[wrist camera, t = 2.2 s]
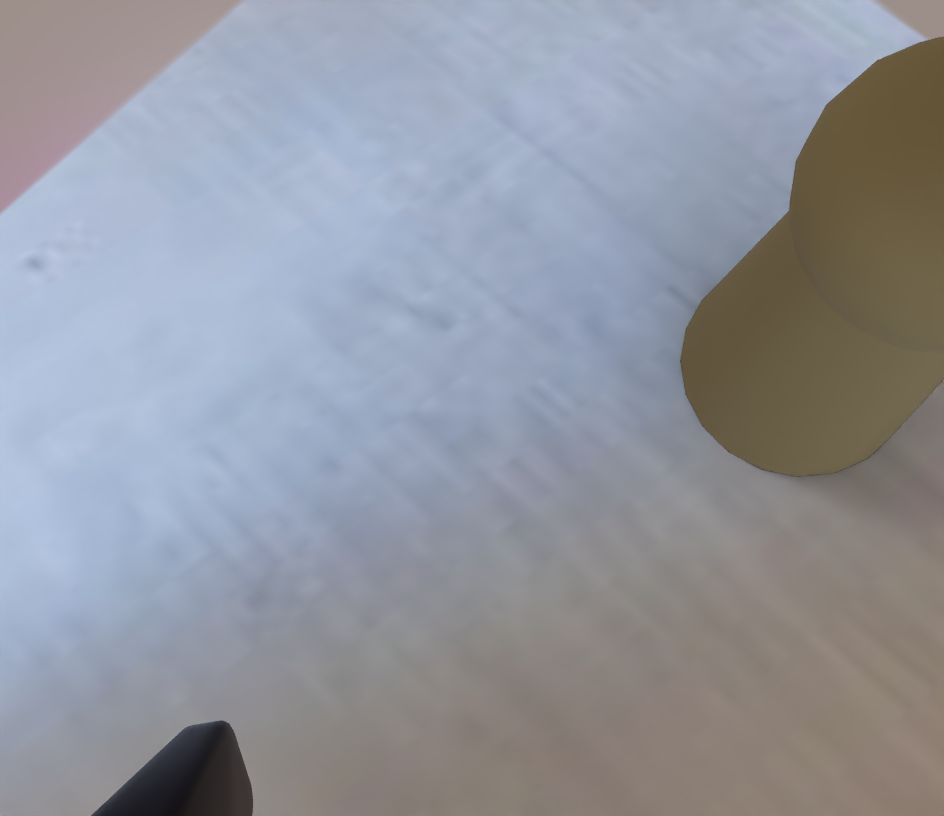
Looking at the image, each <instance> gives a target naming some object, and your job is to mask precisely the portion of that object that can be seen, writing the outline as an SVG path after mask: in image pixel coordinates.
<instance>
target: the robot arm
mask: <svg viewBox="0 0 944 816" xmlns="http://www.w3.org/2000/svg"><path fill="white" fill-rule="evenodd" d="M252 812H253V795H252V788H251V783H250V780H249V777H248V773H247V770H246V767H245V764H244V761H243V758H242V755H241V752H240V749H239V746H238V742H237V739H236V736H235V733H234V731H233V729H232V727H231V726H230V724H229V723H227V722H225V721H215V722H209V723H203V724H197V725H192V726H188V727H186V728H185V729H183V730H182V731H181V732H180V733H179V734H178V735H177V736H176V737H175V738H174V739H172V740H171V741H170V742H169V743H168V744H167V745H166V746H165V747H164V748H163V749H162V750H161V751H160V752H159V753H157V754H156V755H155V756H154V757H153V758H152V759H151V760H150V761H149V762H148V763H147V764H146V765H145V766H144V767H143V768H141V769H140V770H139V771H138V772H137V773H136V774H135V775H134V776H133V777H132V778H131V779H130V780H129V781H128V782H126V783H125V784H124V785H123V786H122V787H121V788H120V789H119V790H118V791H117V792H116V793H115V794H114V795H113V796H112V797H110V798H109V799H108V800H107V801H106V802H105V803H104V804H103V805H102V806H101V807H100V808H99V809H98V810H97V811H96V812H94V813H93V814H92V815H91V816H252Z"/></svg>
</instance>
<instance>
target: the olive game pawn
mask: <svg viewBox="0 0 944 816" xmlns="http://www.w3.org/2000/svg"><path fill="white" fill-rule="evenodd" d="M680 362H681V368H682V374H683V380H684V386H685V392H686V396H687V398H688V400H689V402H690V403H691V405H692V407H693V409H694V411H695V413H696V415H697V417H698V419H699V421H700V422H701V424H702V426H703V427H704V428H705V429H706V430H707V431H708V432H709V433H710V434H711V435H712V436H713V437H714V438H715V439H716V440H717V441H718V442H719V443H720V444H721V445H722V446H723V447H724V448H725V449H726V450H727V451H728V452H730V453H732V454H734V455H735V456H737V457H739V458H741V459H743V460H745V461H747V462H749V463H750V464H752V465H754V466H756V467H758V468H760V469H762V470H767V471H772V472H777V473H782V474H787V475H792V476H797V477H801V476H810V475H820V474H830V473H836V472H838V471H841V470H843V469H845V468H847V467H849V466H852V465H854V464H856V463H858V462H861V461H863V460H865V459H867V458H869V457H870V456H871V455H872V454H873V453H874V452H875V451H876V450H877V449H878V448H879V447H880V446H881V445H882V444H883V443H884V442H885V441H887V440H888V439H889V438H890V437H891V436H892V435H893V434H894V433H895V432H896V431H897V430H898V428H899V427H900V426H901V425H902V424H903V423H904V422H905V421H906V420H907V419H908V418H909V417H910V416H911V414H912V413H913V412H914V411H915V410H916V409H917V408H918V407H919V406H920V405H921V404H922V403H923V401H924V400H925V399H926V398H927V397H928V396H929V395H930V394H931V393H932V392H933V391H934V390H935V389H936V387H937V386H938V385H939V384H940V383H941V382H942V381H943V380H944V37H940V38H935V39H931V40H927V41H924V42H920V43H917V44H915V45H912V46H910V47H908V48H905V49H903V50H901V51H898V52H896V53H894V54H891V55H889V56H887V57H884V58H882V59H880V60H877V61H876V62H875V63H874V64H872V65H871V66H870V67H869V68H868V69H867V70H866V71H864V72H863V73H862V74H861V75H860V76H859V77H858V78H856V79H855V80H854V81H853V82H852V83H851V84H850V85H848V86H847V87H846V88H845V89H844V90H843V91H842V92H840V93H839V94H838V95H837V96H836V97H835V98H834V99H832V100H831V101H830V102H829V103H828V104H827V105H826V106H825V108H824V110H823V112H822V114H821V115H820V117H819V119H818V121H817V123H816V124H815V126H814V128H813V130H812V132H811V133H810V135H809V137H808V139H807V141H806V142H805V144H804V146H803V148H802V150H801V152H800V154H799V156H798V158H797V160H796V164H795V171H794V177H793V184H792V191H791V198H790V208H789V211H788V212H787V214H786V215H785V216H784V217H783V218H782V219H781V220H780V221H779V222H778V223H777V224H776V225H775V226H774V227H773V228H772V229H771V230H770V231H769V232H768V233H767V234H766V235H765V236H764V237H763V238H762V239H761V240H760V241H759V242H758V243H757V244H756V245H755V246H754V247H753V248H752V250H751V251H750V252H749V253H748V254H747V255H746V256H745V257H744V258H743V259H742V260H741V261H740V262H739V263H738V264H737V265H736V266H735V267H734V268H733V269H732V270H731V271H730V272H729V273H728V274H727V275H726V276H725V277H724V278H723V279H722V280H721V281H720V282H719V283H718V284H717V286H716V287H715V288H714V289H713V290H712V291H711V292H710V293H709V294H708V295H707V296H706V297H705V298H704V299H703V300H702V301H701V303H700V305H699V307H698V308H697V310H696V312H695V314H694V315H693V317H692V319H691V321H690V323H689V324H688V326H687V328H686V331H685V337H684V343H683V349H682V355H681V360H680Z"/></svg>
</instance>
